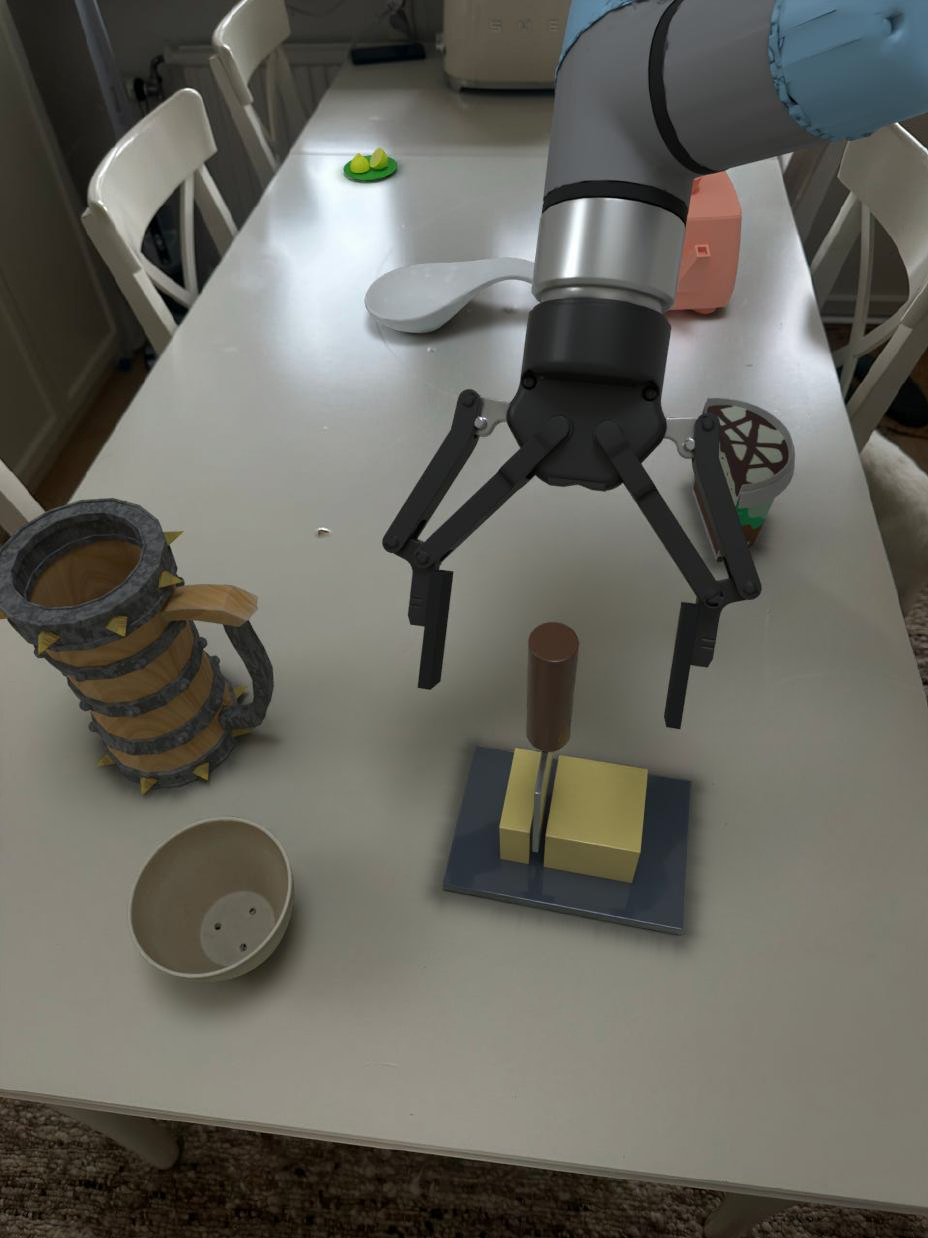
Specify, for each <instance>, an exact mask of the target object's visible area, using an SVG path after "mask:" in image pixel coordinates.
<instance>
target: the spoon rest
mask: <svg viewBox="0 0 928 1238" xmlns="http://www.w3.org/2000/svg"><path fill="white" fill-rule="evenodd" d="M534 263H535V262H533V261H530V260H527V259H523V258H519V257H507V256H506V257H505V256H504V257H495V258H494V257H493V258H484V259H477V260H468V261H453V262H452V261H451V262H449V261H448V262H426V263H416V264H410V265H406V266H402V267H398V268H395V269H392V270H390V271H388V272H386V273H384V274H383V275H381V276H379V277H378V278H376V279H375V280H374V282H372V283H371V284H370V286H369V287H368V288H367V290H366V293H365V296H364V306H365V309H366V311H367V312H368V314H369V315H370V316H371V317H372V318H373V319H375V321H377V322H378V323H380V324H381V325H383V326H384V327H387V328H389V329H391V330H394V331H398V332H402V333H403V332H404V333H409V334H411V333H412V334H426V333H431V332H434V331H436V330H438V329H440V328H442V327H443V326H444V325H445V324H446V323H447V322H449V321H450V320H451V319H452V318H454V316H456V314H457V313H459V312H460V311H461V310H462V309H463V308H464V307H465V306H466V305H467V304H468V303H470V301H471V300H472V299H474V298H475V297H476V296H478V295H479V294H480V293H481V292H483V291H484V290H486V289H487V288H489V287H491V286H492V285H495V284H497V283H500V282H504V281H511V280H513V281H521V282H525V283H528V284H530V285H532V280H533V272H534Z"/></svg>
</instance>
